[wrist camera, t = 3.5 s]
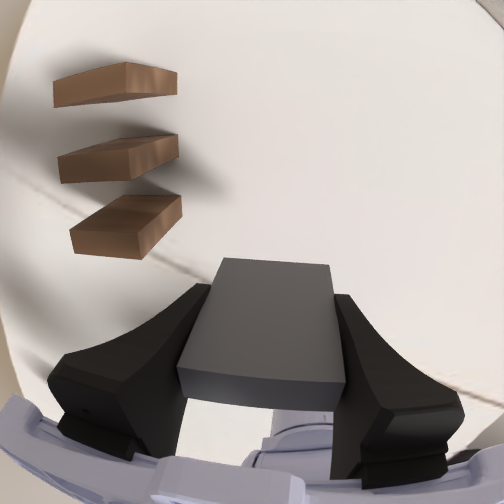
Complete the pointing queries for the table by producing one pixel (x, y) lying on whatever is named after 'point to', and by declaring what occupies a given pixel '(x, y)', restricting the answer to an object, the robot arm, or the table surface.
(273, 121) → the table surface
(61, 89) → the domino
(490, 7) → the picture frame
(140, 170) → the domino
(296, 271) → the domino
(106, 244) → the domino
